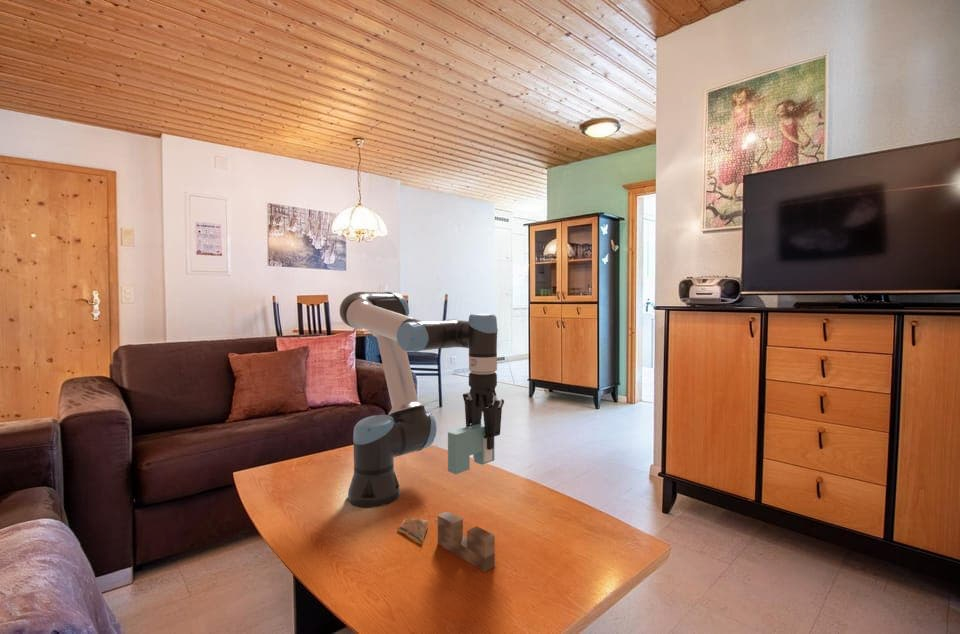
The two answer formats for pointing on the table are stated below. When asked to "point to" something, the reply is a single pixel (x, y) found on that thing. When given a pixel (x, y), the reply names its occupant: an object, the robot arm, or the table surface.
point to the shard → (414, 529)
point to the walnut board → (466, 541)
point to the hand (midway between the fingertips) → (482, 458)
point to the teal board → (466, 447)
